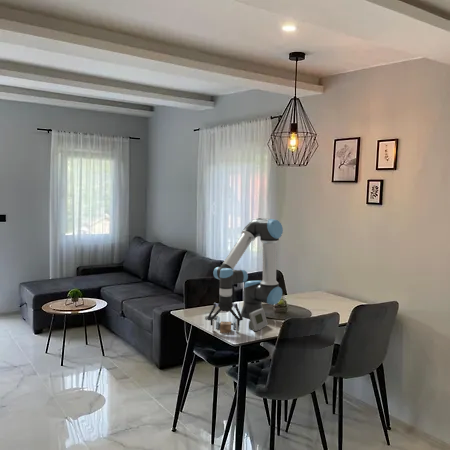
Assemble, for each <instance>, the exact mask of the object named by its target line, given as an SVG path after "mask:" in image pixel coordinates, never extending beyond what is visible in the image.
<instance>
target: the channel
mask: <svg viewBox="0 0 450 450" xmlns="http://www.w3.org/2000/svg"><path fill="white" fill-rule="evenodd" d="M233 317H234V316H233ZM236 320H237V319H236V318H235V317H234V318H233V322H231V326H232V325H233V329H232V330H236ZM215 321H216V322H215V329H216V330H218V329H219V328H220V324H221V322H220V316H218V317H217V320H215Z"/></svg>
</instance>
